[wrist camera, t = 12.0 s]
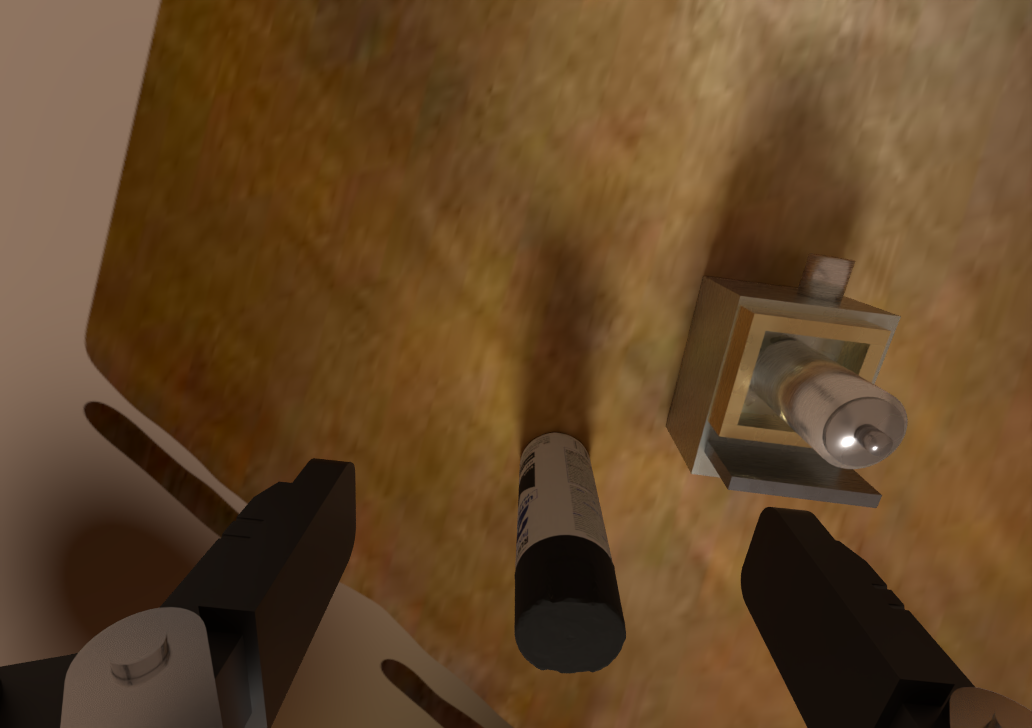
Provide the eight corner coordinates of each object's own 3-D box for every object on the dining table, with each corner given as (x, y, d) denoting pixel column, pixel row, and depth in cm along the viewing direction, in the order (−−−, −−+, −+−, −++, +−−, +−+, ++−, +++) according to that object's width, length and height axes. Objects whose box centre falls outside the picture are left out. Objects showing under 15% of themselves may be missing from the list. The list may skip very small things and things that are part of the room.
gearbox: (712, 238, 41) (788, 262, 28) (847, 256, 41) (981, 286, 28) (665, 426, 46) (713, 513, 34) (783, 441, 46) (873, 533, 34)
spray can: (521, 428, 47) (512, 590, 28) (594, 431, 47) (634, 597, 28) (518, 489, 49) (509, 678, 30) (588, 492, 49) (621, 684, 30)
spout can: (759, 336, 35) (850, 397, 25) (827, 344, 35) (946, 408, 25) (741, 399, 37) (819, 480, 27) (806, 407, 37) (909, 491, 27)
